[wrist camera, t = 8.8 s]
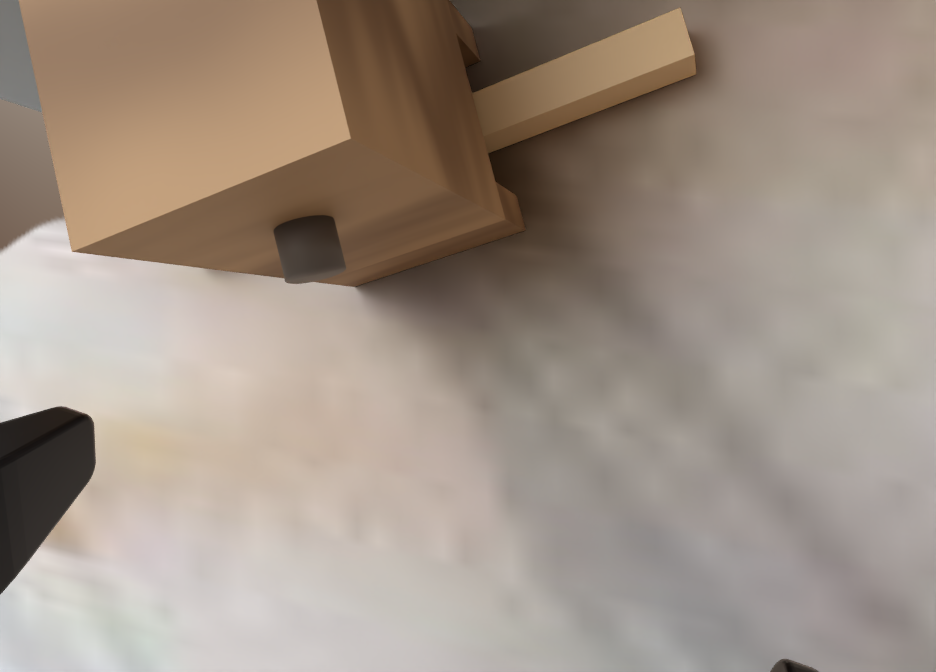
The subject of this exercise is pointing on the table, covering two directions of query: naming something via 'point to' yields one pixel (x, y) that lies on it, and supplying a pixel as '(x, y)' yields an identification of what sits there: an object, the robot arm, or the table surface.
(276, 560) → the table surface
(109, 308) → the table surface
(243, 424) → the table surface
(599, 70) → the wall board
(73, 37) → the cabinet
